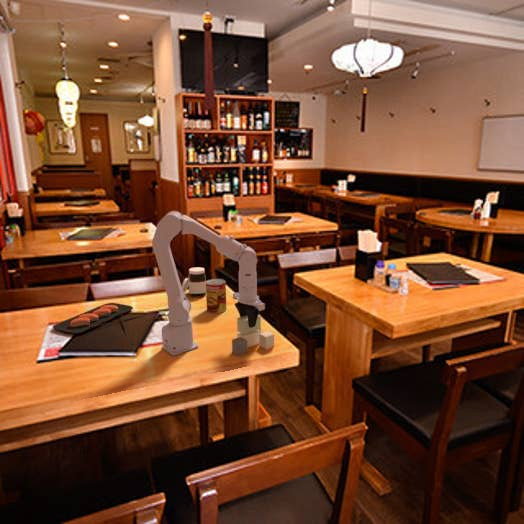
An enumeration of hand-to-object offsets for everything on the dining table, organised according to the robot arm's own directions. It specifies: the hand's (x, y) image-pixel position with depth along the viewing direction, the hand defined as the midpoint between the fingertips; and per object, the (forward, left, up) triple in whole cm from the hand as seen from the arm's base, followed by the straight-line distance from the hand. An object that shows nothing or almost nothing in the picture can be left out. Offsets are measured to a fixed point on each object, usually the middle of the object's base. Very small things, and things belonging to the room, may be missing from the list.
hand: (248, 324), depth 135 cm
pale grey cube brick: (+4, -5, -7) cm, 9 cm away
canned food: (+9, +33, -7) cm, 35 cm away
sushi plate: (-29, +48, -8) cm, 57 cm away
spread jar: (+12, +57, -7) cm, 59 cm away
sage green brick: (0, 0, -2) cm, 2 cm away
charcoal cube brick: (-6, -3, -7) cm, 10 cm away
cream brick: (0, 0, -7) cm, 7 cm away
